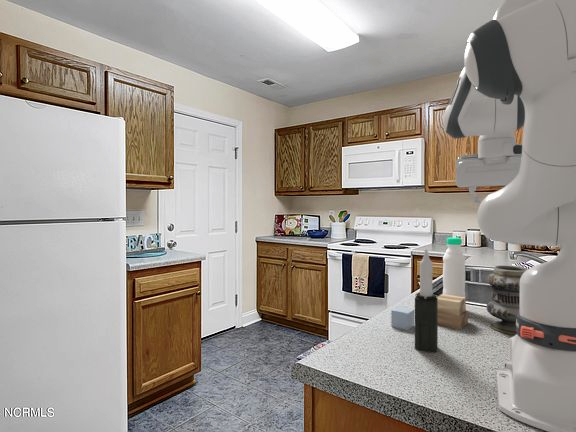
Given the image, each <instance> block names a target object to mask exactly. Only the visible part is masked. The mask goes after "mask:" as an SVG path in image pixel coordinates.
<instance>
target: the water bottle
mask: <svg viewBox="0 0 576 432" xmlns="http://www.w3.org/2000/svg"><path fill="white" fill-rule="evenodd" d="M462 243H463V239H462V238H461V237H452V236H451V237H447V238H446V246H447V249H446V250H445V253H444V255H443V257H442V262H443V263H442V264H443V266H442V285H443V286H442V287H443V289H442V294H445V295H452V296H458V297H465V298H466V290H465V289H466V288H465V287H466V257H465V255H464V253H463V251H462V249H461V246H462Z"/></svg>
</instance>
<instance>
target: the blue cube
mask: <svg viewBox="0 0 576 432" xmlns="http://www.w3.org/2000/svg"><path fill="white" fill-rule="evenodd" d="M390 313H391V315H390V316H391V317H390V318H391V319H390V320H391V322H390V323H391V325H390V326H391V327H393V328H395V329H401V330H406V331H409V330H410V329H412V328H413V327H415V308H414V309H413V308H408V307H404V306H397V307H395V308H393V309H391V312H390Z"/></svg>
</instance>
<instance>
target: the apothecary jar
mask: <svg viewBox="0 0 576 432" xmlns="http://www.w3.org/2000/svg"><path fill="white" fill-rule="evenodd" d="M528 269H529V268H527V267H523V266H519V265H508V264H507V265H503V264H501V265H500V264H499V265H495V266H494V267H493V271H492V273H490V274H489V275H488V276H487V279H486V280H487V283H488V284H489V285H490V286H491V298H490V299H491V300H489V301H488V302H487V303H486V306H485V307H486V311H487V312H488V313H489V314H490V315H491V316H493V317H494V318H496V319H498V320H499V321H495V322H492V323H490V325H489V326H490V328H491V329H493V330H495V331H497V332H500V333H502V334H507V335H513V336H515V335H516V334H517V333H516V320H517V313H519V305H520V278H521V276H522V274H523V273H524V272H525V271H526V270H528Z"/></svg>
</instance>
